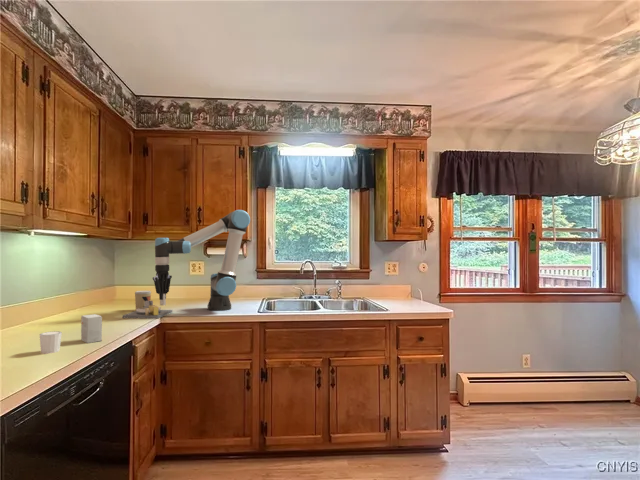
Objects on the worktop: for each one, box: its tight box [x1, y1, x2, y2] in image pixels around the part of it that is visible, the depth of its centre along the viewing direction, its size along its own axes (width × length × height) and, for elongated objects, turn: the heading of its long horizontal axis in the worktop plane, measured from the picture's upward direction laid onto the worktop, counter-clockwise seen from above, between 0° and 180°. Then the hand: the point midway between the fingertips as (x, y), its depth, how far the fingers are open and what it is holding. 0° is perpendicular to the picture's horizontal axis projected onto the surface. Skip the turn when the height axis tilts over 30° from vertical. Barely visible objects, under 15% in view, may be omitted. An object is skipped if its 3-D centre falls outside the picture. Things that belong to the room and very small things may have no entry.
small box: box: [80, 313, 103, 344], centre depth 159 cm, size 8×6×10 cm
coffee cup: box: [134, 290, 152, 310], centre depth 235 cm, size 9×9×12 cm
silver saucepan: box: [135, 300, 162, 315], centre depth 217 cm, size 20×13×6 cm, turn 42°
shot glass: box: [39, 330, 63, 355], centre depth 142 cm, size 7×7×7 cm
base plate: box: [122, 308, 173, 319], centre depth 219 cm, size 20×20×6 cm
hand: (162, 305), depth 215 cm, fingers closed
